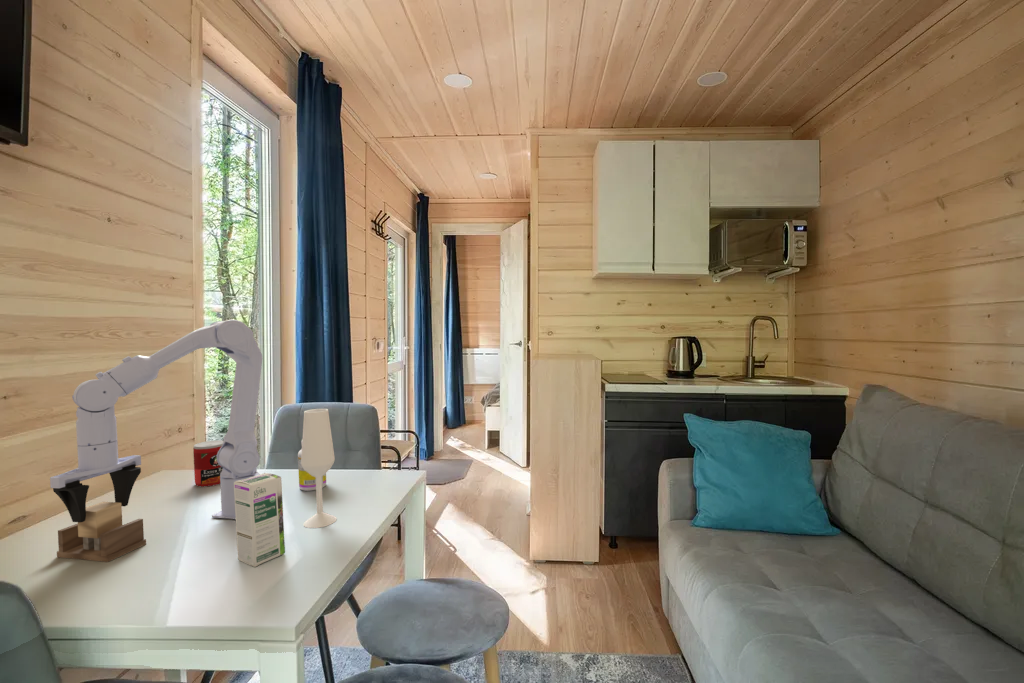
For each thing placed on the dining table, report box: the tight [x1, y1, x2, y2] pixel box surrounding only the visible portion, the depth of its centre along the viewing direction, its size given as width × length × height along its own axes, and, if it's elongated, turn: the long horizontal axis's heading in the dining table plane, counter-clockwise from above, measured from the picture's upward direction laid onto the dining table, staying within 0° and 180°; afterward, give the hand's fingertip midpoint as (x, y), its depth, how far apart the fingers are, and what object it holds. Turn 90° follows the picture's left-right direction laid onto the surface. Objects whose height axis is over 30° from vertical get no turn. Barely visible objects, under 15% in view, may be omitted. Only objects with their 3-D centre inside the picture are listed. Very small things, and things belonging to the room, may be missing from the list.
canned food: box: [192, 439, 223, 488], centre depth 128 cm, size 8×8×11 cm
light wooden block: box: [77, 501, 123, 538], centre depth 88 cm, size 4×4×5 cm
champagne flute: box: [301, 408, 337, 529], centre depth 99 cm, size 7×7×24 cm
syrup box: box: [234, 472, 286, 568], centre depth 83 cm, size 6×6×14 cm
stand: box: [56, 518, 147, 563], centre depth 88 cm, size 12×7×5 cm, turn 78°
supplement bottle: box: [297, 439, 327, 492], centre depth 122 cm, size 7×7×13 cm
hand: (101, 513), depth 88 cm, fingers open, 7 cm apart
